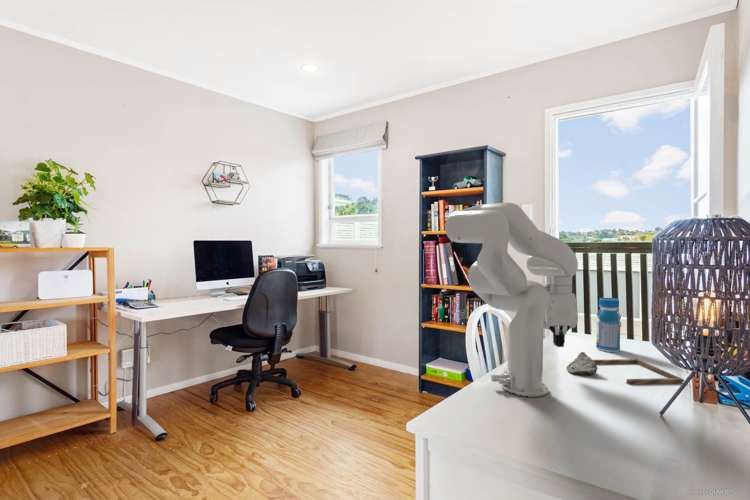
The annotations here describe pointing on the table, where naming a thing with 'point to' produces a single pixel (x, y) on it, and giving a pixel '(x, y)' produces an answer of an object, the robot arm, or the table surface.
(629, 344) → the table surface
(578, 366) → the rock sample
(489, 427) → the table surface
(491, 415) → the table surface
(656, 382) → the frame
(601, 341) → the beverage bottle
